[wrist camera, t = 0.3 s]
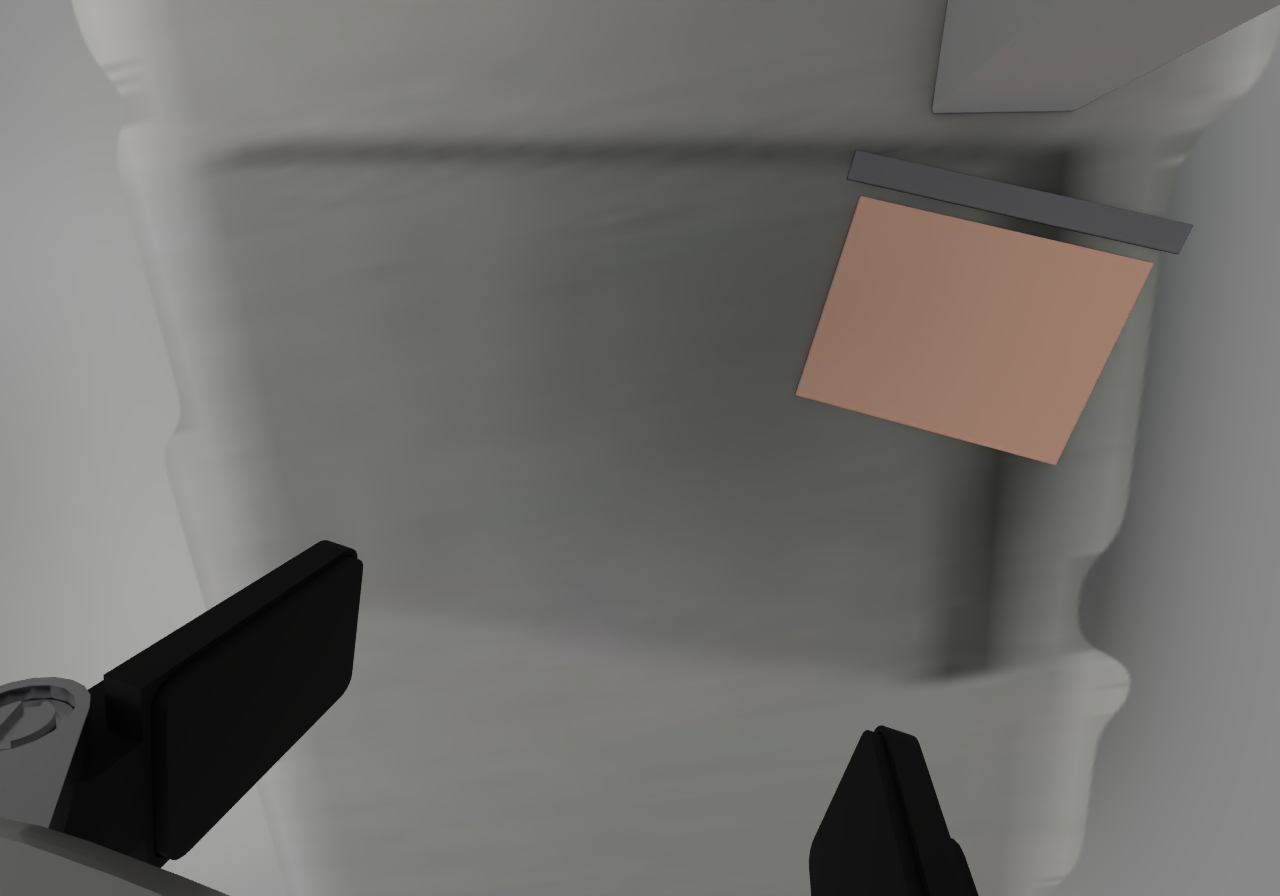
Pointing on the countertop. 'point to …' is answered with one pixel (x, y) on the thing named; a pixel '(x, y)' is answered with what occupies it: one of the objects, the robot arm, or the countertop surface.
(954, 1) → the milk carton
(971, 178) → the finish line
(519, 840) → the countertop surface
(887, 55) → the countertop surface
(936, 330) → the mat
